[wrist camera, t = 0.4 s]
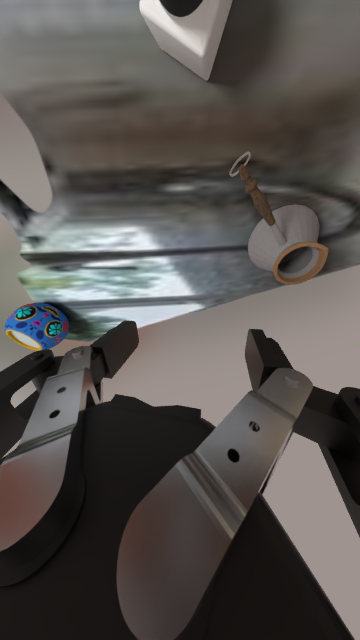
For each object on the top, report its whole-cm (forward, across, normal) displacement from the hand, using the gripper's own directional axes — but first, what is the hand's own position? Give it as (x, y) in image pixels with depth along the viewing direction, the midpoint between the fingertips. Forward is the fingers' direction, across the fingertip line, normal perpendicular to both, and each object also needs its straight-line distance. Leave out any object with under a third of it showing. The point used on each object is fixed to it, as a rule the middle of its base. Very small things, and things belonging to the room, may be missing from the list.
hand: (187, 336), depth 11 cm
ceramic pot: (+38, +62, +16) cm, 74 cm away
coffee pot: (+29, -10, -10) cm, 32 cm away
